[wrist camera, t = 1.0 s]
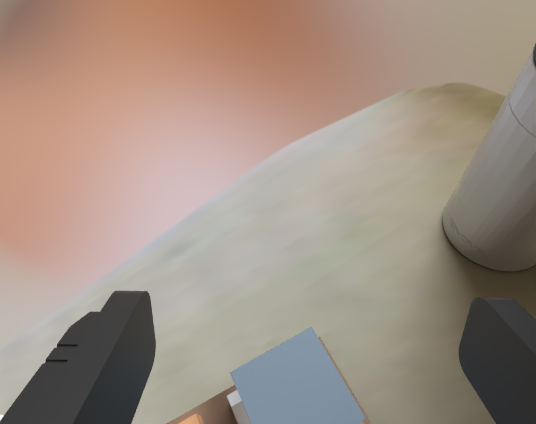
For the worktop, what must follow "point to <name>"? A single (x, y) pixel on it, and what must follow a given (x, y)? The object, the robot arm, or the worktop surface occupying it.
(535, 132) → the robot arm
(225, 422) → the socket board
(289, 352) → the post
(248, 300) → the worktop surface
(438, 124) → the worktop surface
